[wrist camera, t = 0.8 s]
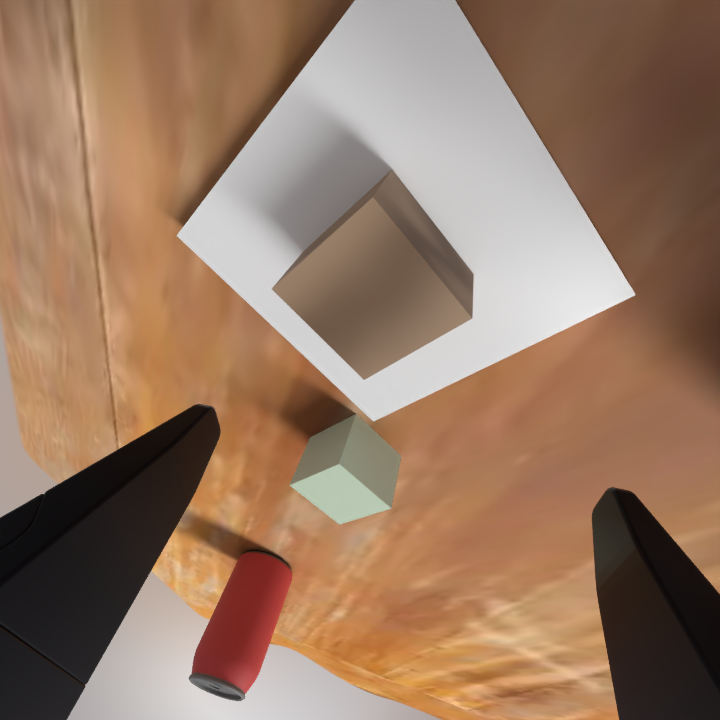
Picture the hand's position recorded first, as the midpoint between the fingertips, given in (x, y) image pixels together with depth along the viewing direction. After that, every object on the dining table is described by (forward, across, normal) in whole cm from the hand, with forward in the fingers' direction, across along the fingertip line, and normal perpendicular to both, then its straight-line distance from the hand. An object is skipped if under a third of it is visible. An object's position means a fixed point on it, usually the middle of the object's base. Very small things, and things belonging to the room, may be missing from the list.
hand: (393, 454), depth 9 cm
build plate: (+13, +2, +1) cm, 14 cm away
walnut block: (+12, +2, +1) cm, 13 cm away
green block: (+13, +4, +17) cm, 22 cm away
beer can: (+14, +14, +41) cm, 45 cm away
